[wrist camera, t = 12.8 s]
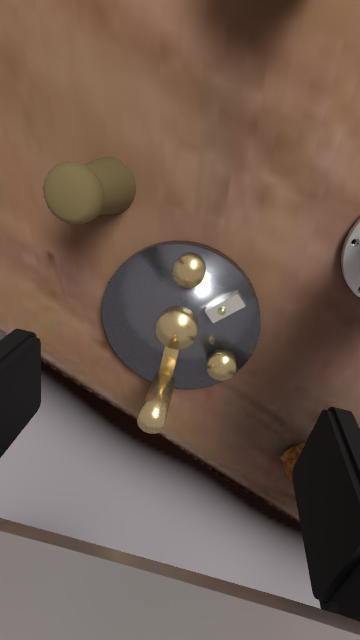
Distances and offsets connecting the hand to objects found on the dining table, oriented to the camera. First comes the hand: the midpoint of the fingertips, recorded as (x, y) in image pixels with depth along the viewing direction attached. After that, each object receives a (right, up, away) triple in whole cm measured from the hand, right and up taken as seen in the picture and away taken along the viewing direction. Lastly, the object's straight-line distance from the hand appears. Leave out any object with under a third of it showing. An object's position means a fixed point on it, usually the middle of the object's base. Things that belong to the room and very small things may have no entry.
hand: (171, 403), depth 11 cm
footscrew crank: (-1, -1, +32) cm, 32 cm away
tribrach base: (0, +3, +32) cm, 33 cm away
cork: (-8, +18, +27) cm, 33 cm away
